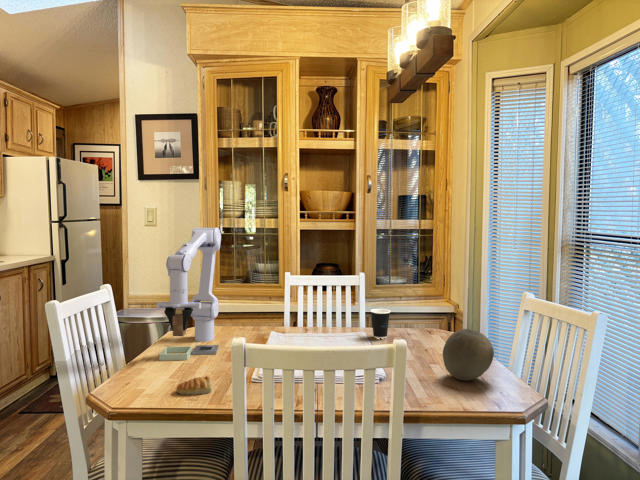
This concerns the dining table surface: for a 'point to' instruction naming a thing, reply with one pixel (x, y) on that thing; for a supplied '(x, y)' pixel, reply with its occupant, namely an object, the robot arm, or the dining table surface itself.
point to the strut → (178, 325)
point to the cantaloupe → (467, 354)
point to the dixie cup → (380, 322)
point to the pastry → (195, 386)
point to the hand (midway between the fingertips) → (179, 329)
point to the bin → (182, 349)
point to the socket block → (205, 350)
